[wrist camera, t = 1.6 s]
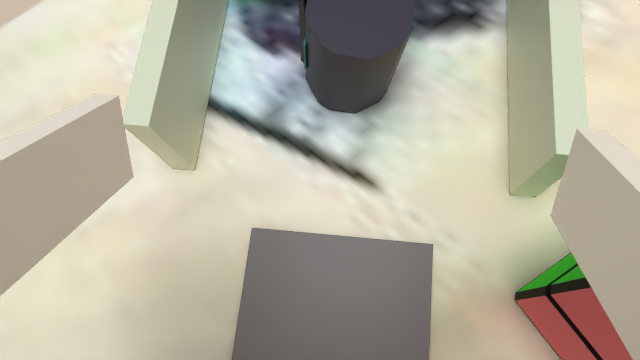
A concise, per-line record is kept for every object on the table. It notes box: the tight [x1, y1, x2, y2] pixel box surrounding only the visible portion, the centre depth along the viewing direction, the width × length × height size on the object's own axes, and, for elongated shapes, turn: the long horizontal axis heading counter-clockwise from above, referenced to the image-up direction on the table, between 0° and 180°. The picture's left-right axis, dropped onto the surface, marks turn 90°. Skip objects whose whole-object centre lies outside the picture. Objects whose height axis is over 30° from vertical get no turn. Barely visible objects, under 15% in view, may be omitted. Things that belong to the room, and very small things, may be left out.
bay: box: [123, 0, 588, 197], centre depth 29 cm, size 20×23×7 cm
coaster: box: [232, 228, 433, 360], centre depth 26 cm, size 11×11×1 cm
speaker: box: [299, 0, 415, 113], centre depth 27 cm, size 8×6×10 cm
